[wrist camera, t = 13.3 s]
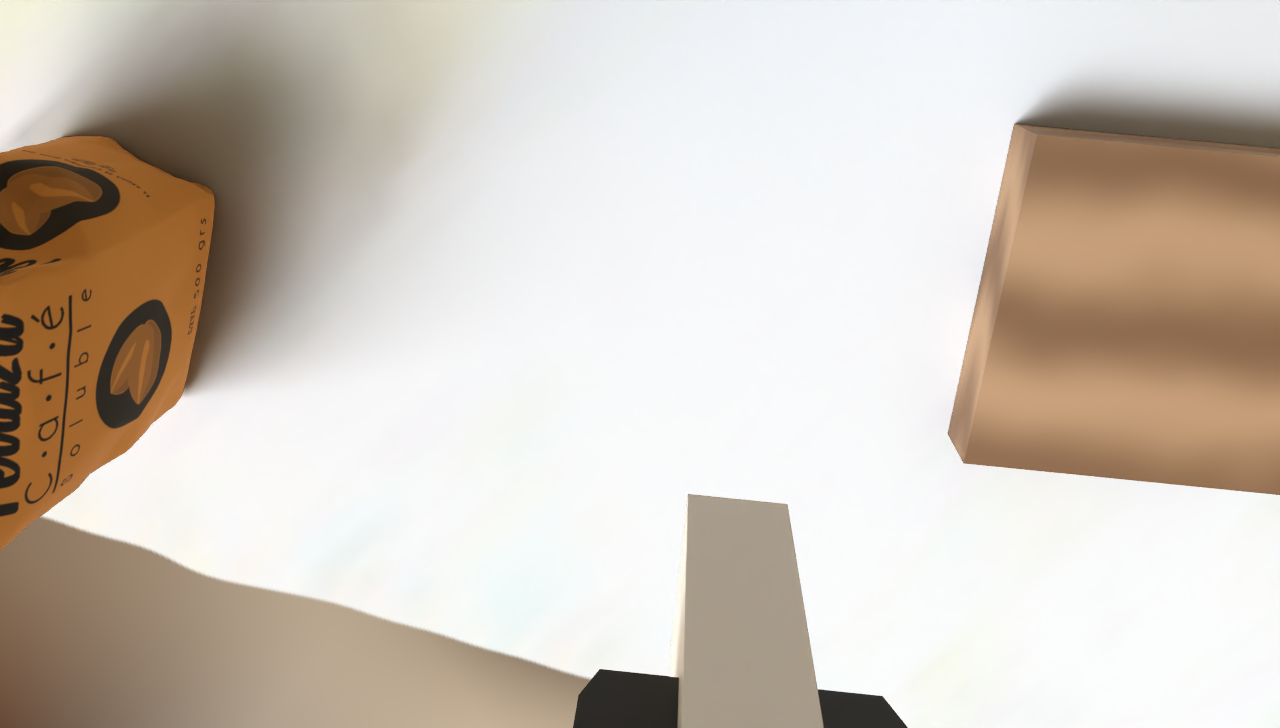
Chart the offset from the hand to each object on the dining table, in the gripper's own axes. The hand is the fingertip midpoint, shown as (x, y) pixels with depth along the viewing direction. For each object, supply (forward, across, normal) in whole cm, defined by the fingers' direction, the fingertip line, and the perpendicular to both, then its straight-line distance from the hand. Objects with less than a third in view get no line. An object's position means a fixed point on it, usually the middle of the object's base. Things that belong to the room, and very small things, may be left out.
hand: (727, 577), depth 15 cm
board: (+29, +19, -3) cm, 35 cm away
